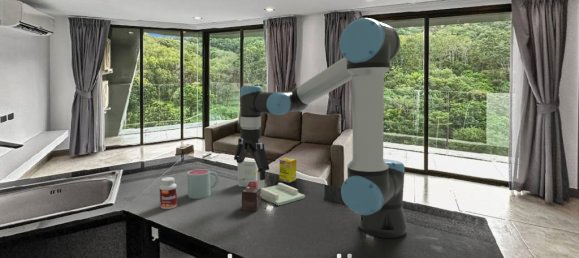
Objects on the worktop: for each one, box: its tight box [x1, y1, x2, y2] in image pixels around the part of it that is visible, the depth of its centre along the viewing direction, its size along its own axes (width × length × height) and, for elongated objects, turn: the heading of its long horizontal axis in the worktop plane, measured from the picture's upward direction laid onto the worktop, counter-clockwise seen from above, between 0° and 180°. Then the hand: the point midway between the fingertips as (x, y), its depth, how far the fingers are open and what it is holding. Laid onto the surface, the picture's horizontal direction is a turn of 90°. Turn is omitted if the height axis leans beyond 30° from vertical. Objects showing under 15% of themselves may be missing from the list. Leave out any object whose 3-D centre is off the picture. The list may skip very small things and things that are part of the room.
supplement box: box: [279, 157, 297, 185], centre depth 158 cm, size 6×6×11 cm
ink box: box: [237, 159, 259, 188], centre depth 152 cm, size 9×5×12 cm, turn 81°
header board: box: [261, 182, 306, 207], centre depth 139 cm, size 18×14×3 cm
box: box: [241, 186, 262, 212], centre depth 125 cm, size 6×6×7 cm
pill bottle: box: [159, 176, 178, 210], centre depth 126 cm, size 6×6×11 cm
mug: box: [186, 168, 219, 200], centre depth 140 cm, size 14×9×10 cm
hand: (250, 183), depth 124 cm, fingers open, 13 cm apart
